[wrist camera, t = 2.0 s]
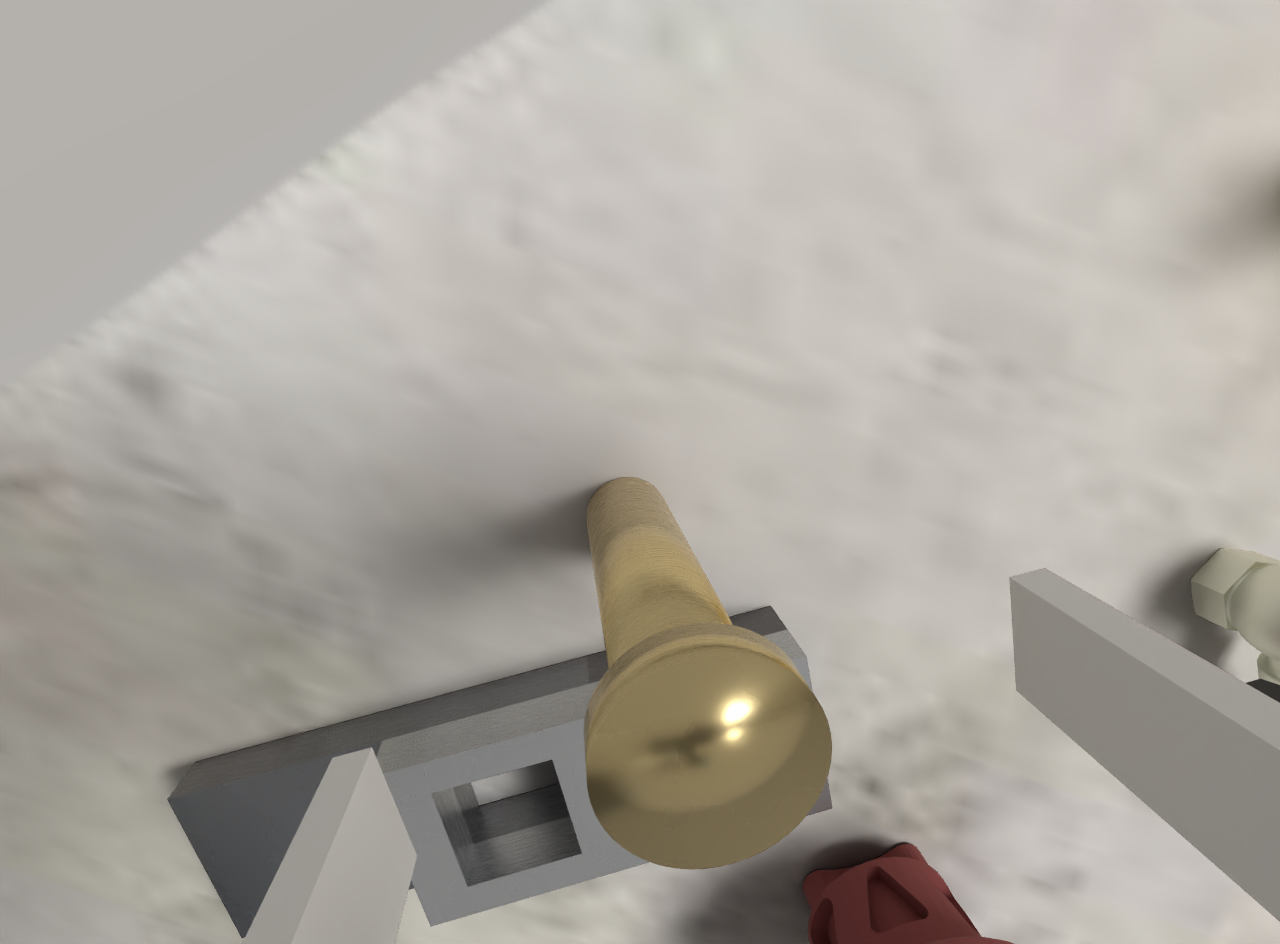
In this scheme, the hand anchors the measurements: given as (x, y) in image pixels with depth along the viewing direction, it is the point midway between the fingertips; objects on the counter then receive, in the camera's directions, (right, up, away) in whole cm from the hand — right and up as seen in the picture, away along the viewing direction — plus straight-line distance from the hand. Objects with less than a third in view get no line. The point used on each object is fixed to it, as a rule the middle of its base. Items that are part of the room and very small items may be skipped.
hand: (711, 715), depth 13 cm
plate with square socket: (-7, -7, +15) cm, 17 cm away
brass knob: (-2, +3, +12) cm, 13 cm away
